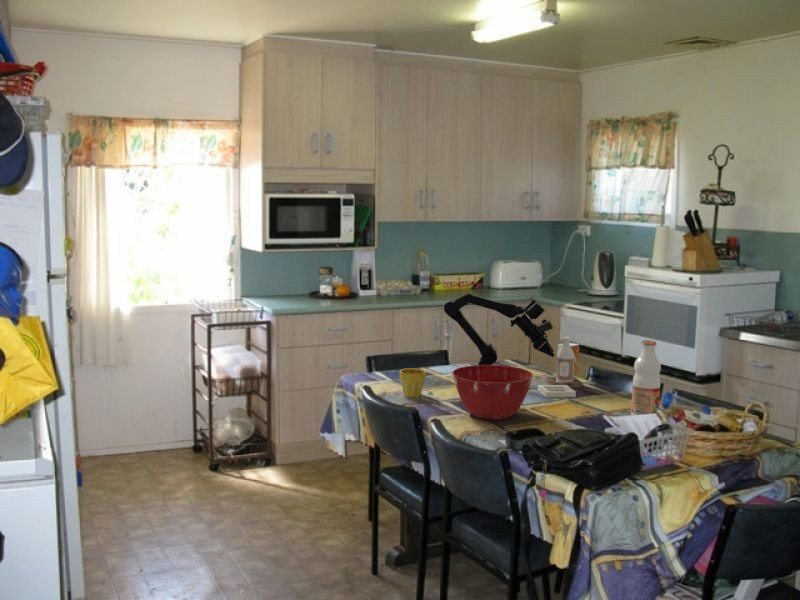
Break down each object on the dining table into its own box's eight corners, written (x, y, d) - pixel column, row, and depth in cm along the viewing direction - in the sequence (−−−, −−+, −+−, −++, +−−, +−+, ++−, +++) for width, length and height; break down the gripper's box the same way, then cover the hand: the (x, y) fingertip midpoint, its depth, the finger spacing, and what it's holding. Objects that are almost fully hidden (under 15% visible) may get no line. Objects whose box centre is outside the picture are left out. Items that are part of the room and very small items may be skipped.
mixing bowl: (475, 429, 278) (476, 384, 276) (437, 408, 304) (438, 367, 302) (546, 421, 290) (548, 378, 288) (504, 402, 316) (506, 362, 314)
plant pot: (426, 398, 318) (427, 373, 317) (400, 398, 318) (400, 373, 316) (424, 392, 329) (424, 368, 327) (398, 392, 328) (398, 368, 327)
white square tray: (545, 397, 324) (546, 392, 324) (537, 390, 336) (538, 385, 336) (575, 397, 326) (576, 392, 325) (566, 389, 337) (566, 385, 337)
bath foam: (554, 385, 345) (556, 337, 343) (556, 381, 352) (558, 335, 349) (571, 386, 343) (574, 339, 341) (573, 383, 350) (575, 336, 347)
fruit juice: (627, 415, 300) (631, 338, 296) (652, 415, 300) (657, 339, 297) (635, 422, 291) (640, 343, 287) (662, 422, 291) (666, 343, 287)
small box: (568, 375, 365) (569, 346, 363) (556, 373, 370) (557, 344, 368) (578, 373, 371) (579, 344, 369) (566, 370, 375) (568, 342, 373)
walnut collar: (554, 387, 341) (554, 382, 341) (546, 381, 353) (546, 376, 353) (582, 387, 342) (583, 382, 342) (573, 381, 354) (574, 376, 354)
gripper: (542, 317, 336) (569, 345, 336) (541, 310, 354) (566, 337, 354) (522, 335, 338) (548, 363, 338) (522, 328, 357) (547, 354, 356)
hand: (553, 354), depth 347 cm, fingers open, 9 cm apart
